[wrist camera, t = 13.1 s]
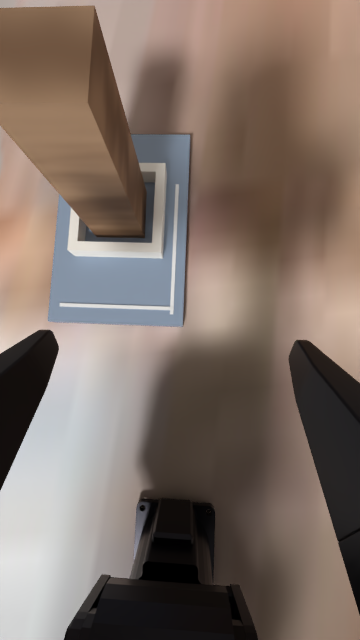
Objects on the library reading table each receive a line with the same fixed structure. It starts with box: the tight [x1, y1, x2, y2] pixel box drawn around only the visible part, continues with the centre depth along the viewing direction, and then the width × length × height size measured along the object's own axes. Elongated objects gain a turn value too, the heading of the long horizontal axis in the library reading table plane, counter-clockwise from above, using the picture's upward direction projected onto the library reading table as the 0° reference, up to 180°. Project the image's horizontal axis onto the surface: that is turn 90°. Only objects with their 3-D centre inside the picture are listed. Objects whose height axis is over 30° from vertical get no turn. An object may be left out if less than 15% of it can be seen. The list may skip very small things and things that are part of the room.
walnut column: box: [0, 6, 147, 238], centre depth 17 cm, size 4×4×13 cm
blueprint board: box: [48, 134, 190, 327], centre depth 23 cm, size 18×12×2 cm, turn 178°
